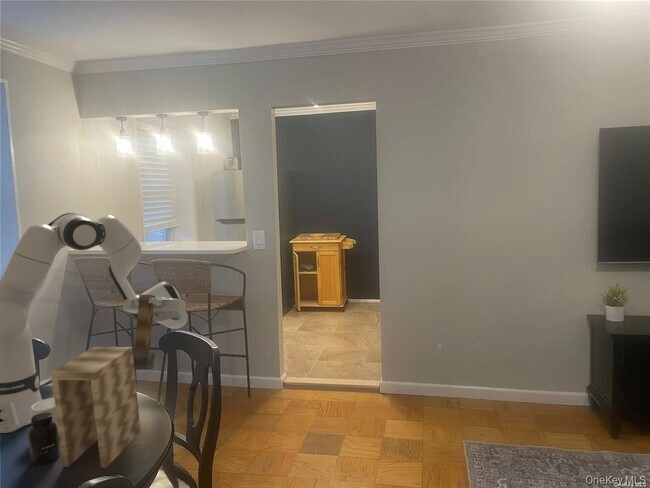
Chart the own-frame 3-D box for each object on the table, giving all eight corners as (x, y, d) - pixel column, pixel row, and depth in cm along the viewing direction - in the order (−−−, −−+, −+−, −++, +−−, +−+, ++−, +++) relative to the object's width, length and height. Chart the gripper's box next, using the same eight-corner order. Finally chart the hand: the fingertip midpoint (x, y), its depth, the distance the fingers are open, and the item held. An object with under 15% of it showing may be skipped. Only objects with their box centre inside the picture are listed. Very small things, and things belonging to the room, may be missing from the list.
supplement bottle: (48, 466, 124) (42, 423, 122) (25, 464, 125) (19, 422, 123) (66, 451, 130) (61, 410, 129) (45, 449, 132) (39, 409, 130)
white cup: (52, 444, 134) (48, 411, 133) (29, 442, 136) (24, 409, 135) (72, 429, 142) (68, 398, 141) (49, 427, 144) (45, 396, 142)
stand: (102, 429, 141) (93, 346, 137) (140, 430, 140) (132, 346, 136) (63, 466, 123) (51, 372, 119) (106, 468, 122) (95, 372, 118)
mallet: (139, 296, 160) (132, 294, 155) (159, 295, 159) (152, 293, 154) (133, 369, 154) (125, 369, 149) (153, 369, 153) (146, 369, 149)
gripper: (135, 301, 170) (115, 291, 157) (190, 301, 168) (174, 290, 155) (132, 319, 168) (112, 310, 155) (187, 318, 166) (171, 309, 153)
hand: (143, 300), depth 155 cm, fingers closed on mallet, 3 cm apart
